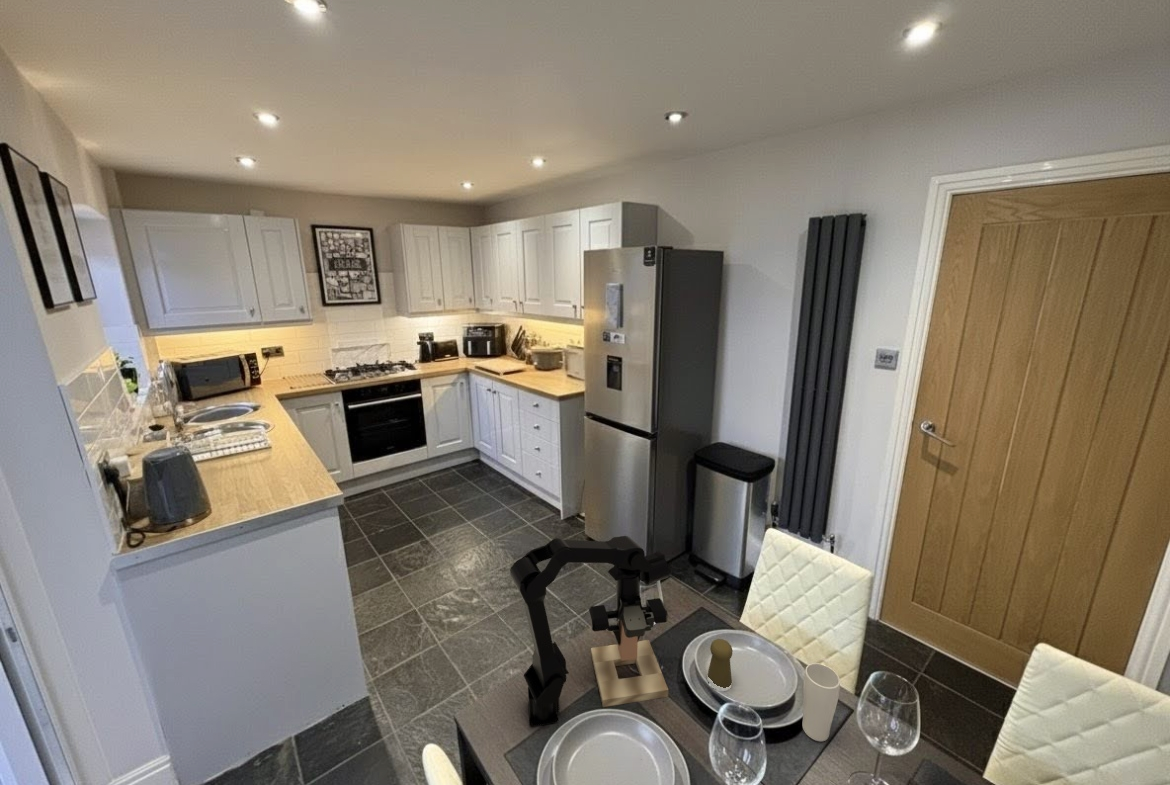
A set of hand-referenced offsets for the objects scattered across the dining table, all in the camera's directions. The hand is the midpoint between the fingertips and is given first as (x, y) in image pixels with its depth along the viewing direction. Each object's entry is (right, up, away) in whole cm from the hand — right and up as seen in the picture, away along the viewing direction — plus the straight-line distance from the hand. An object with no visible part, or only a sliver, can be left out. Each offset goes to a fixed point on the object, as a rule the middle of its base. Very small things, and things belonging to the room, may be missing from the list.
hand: (627, 643), depth 115 cm
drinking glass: (+40, -13, -13) cm, 44 cm away
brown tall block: (0, -3, +1) cm, 3 cm away
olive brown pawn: (+23, -10, 0) cm, 25 cm away
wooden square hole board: (0, -9, +2) cm, 9 cm away
